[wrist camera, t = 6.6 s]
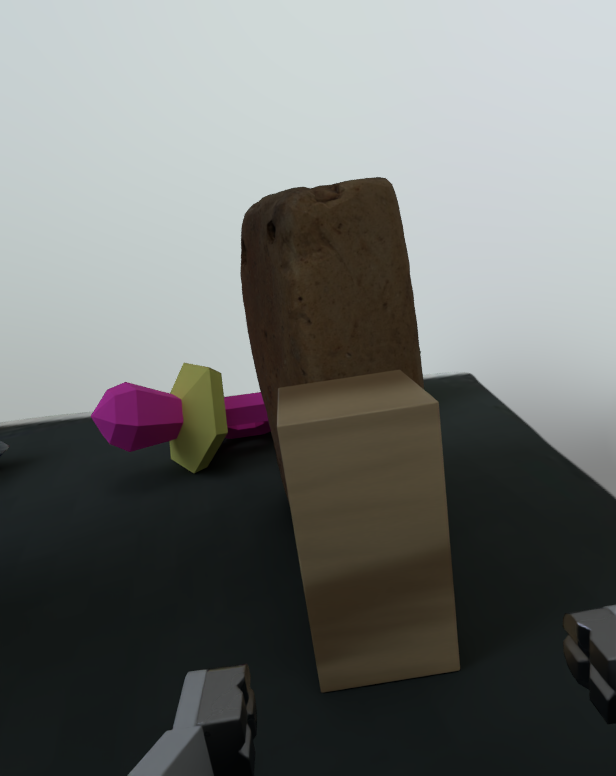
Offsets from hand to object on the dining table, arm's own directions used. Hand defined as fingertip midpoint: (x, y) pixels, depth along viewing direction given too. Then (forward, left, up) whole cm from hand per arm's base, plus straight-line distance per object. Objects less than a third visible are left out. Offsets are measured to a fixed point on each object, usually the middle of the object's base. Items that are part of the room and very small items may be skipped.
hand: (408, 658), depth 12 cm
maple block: (+2, +8, -6) cm, 10 cm away
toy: (-2, +35, -6) cm, 35 cm away
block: (+5, +18, -6) cm, 19 cm away
